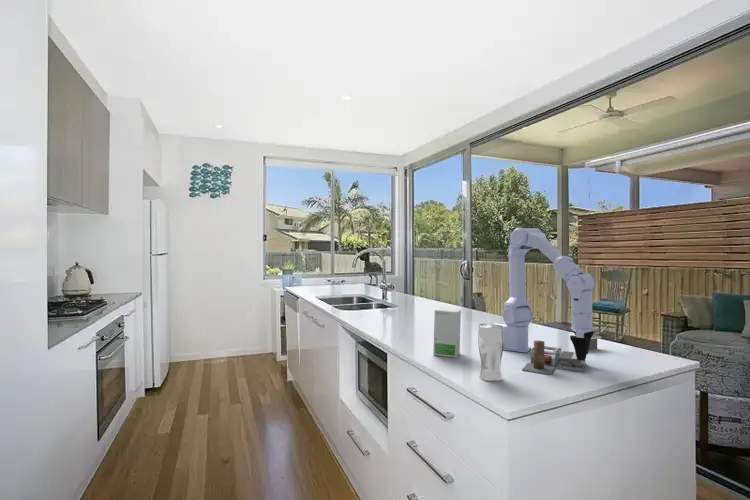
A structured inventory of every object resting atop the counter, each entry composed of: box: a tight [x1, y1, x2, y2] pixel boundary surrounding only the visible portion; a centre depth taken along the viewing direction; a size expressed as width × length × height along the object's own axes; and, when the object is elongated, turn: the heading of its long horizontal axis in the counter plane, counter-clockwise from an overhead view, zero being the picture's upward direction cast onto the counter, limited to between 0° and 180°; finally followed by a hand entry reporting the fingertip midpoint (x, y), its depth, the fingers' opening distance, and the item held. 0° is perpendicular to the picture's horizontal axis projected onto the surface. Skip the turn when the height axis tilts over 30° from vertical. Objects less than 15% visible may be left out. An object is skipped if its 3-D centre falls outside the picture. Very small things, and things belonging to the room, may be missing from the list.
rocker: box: [559, 350, 582, 364], centre depth 126 cm, size 6×9×1 cm, turn 148°
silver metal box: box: [530, 345, 586, 373], centre depth 128 cm, size 15×10×4 cm, turn 58°
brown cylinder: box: [533, 340, 545, 369], centre depth 122 cm, size 3×3×8 cm
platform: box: [589, 333, 602, 350], centre depth 147 cm, size 12×18×7 cm, turn 110°
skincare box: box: [433, 307, 462, 359], centre depth 139 cm, size 8×7×16 cm
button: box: [544, 354, 553, 362], centre depth 131 cm, size 3×3×2 cm
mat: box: [521, 362, 556, 376], centre depth 122 cm, size 8×8×1 cm
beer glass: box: [477, 322, 504, 383], centre depth 114 cm, size 7×7×15 cm
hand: (582, 357), depth 124 cm, fingers open, 7 cm apart
